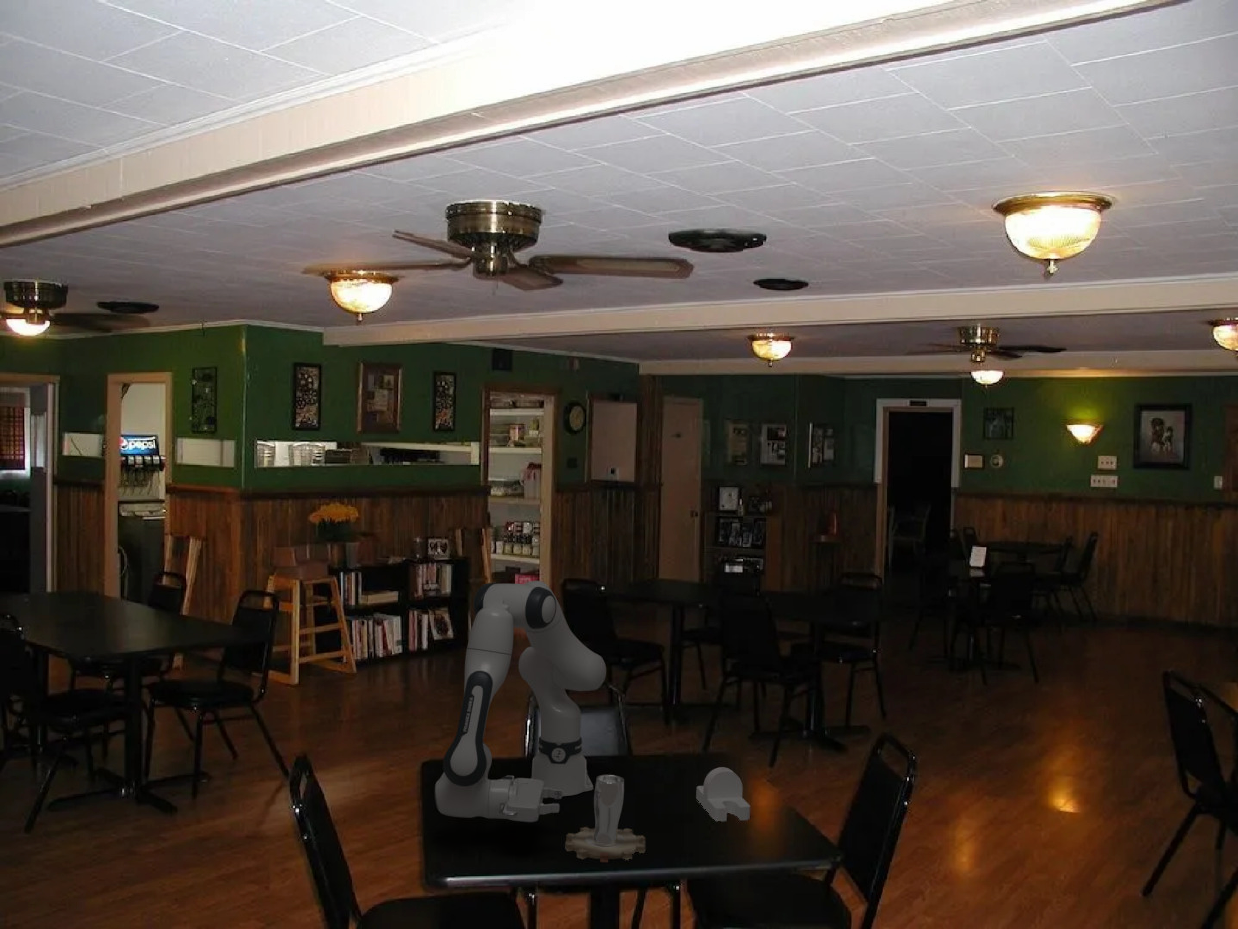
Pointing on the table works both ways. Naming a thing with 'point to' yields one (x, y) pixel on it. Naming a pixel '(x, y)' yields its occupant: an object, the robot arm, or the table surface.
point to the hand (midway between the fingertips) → (560, 801)
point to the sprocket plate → (588, 848)
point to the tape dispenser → (723, 795)
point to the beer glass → (607, 809)
